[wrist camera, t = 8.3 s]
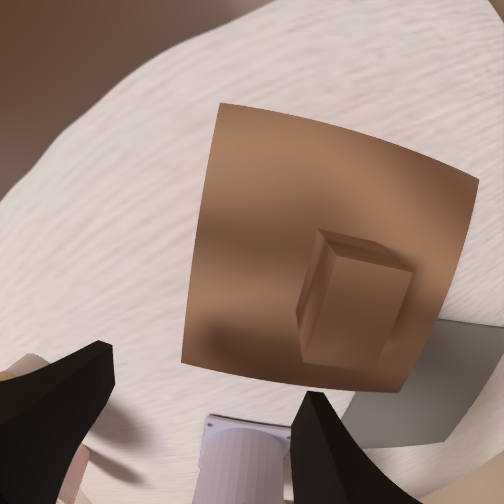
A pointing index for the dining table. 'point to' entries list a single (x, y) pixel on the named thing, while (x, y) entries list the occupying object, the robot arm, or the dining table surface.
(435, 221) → the lid
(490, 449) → the dining table surface
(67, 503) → the smoothie
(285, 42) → the dining table surface
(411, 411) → the mat
